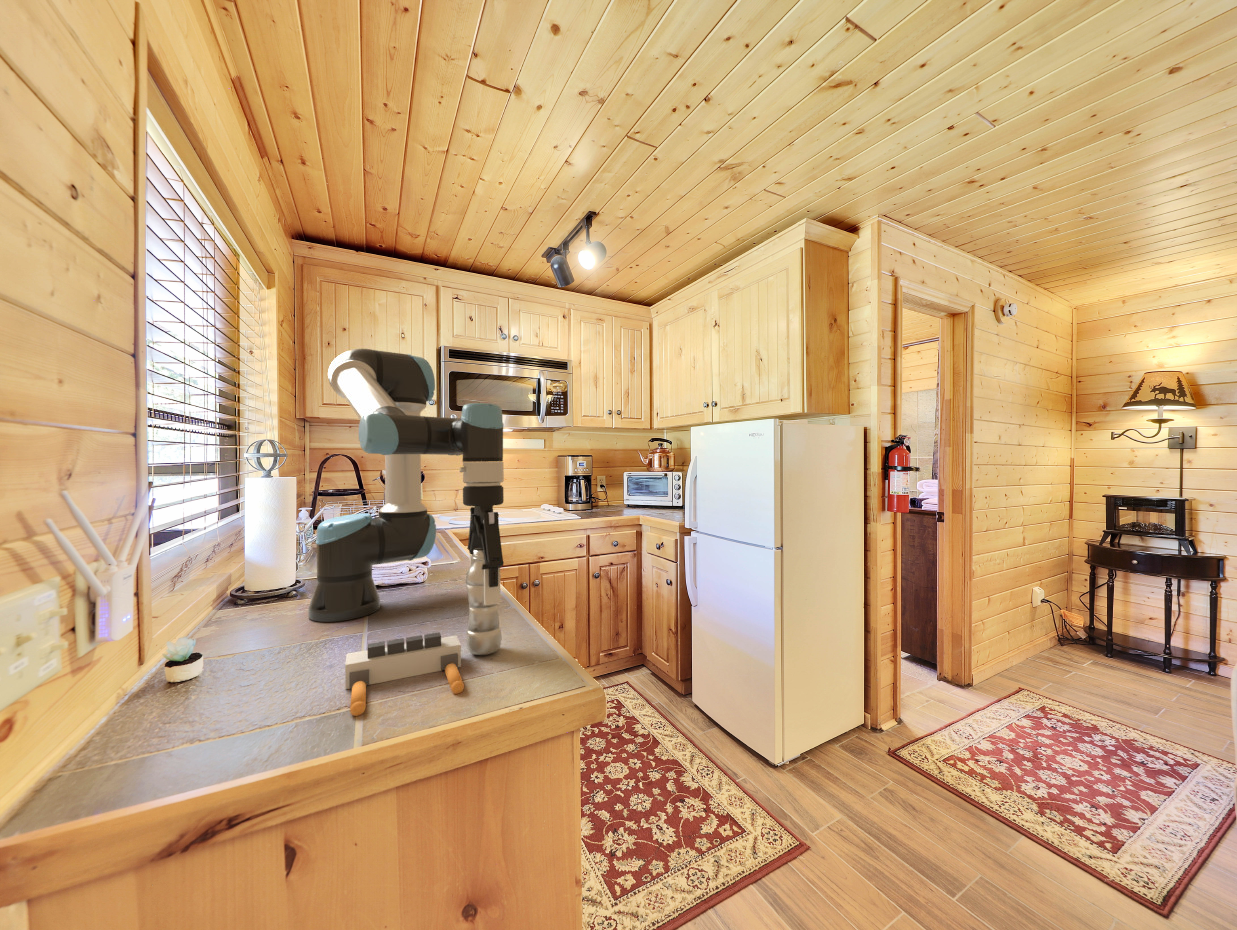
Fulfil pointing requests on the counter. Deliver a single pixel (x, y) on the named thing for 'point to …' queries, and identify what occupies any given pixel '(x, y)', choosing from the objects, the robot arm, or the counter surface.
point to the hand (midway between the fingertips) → (484, 594)
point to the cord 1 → (358, 698)
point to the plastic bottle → (481, 612)
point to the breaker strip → (402, 659)
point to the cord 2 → (454, 678)
